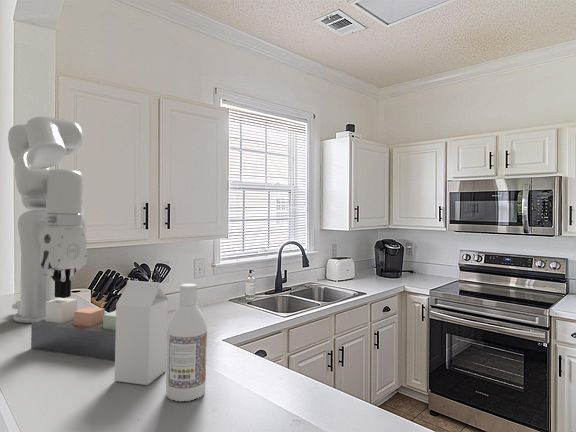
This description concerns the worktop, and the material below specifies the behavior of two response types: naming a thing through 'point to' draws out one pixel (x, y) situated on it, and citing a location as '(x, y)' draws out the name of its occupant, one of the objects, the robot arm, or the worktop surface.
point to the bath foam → (186, 349)
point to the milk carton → (141, 333)
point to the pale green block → (109, 320)
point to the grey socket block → (74, 339)
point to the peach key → (89, 316)
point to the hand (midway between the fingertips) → (62, 296)
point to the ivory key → (60, 310)
